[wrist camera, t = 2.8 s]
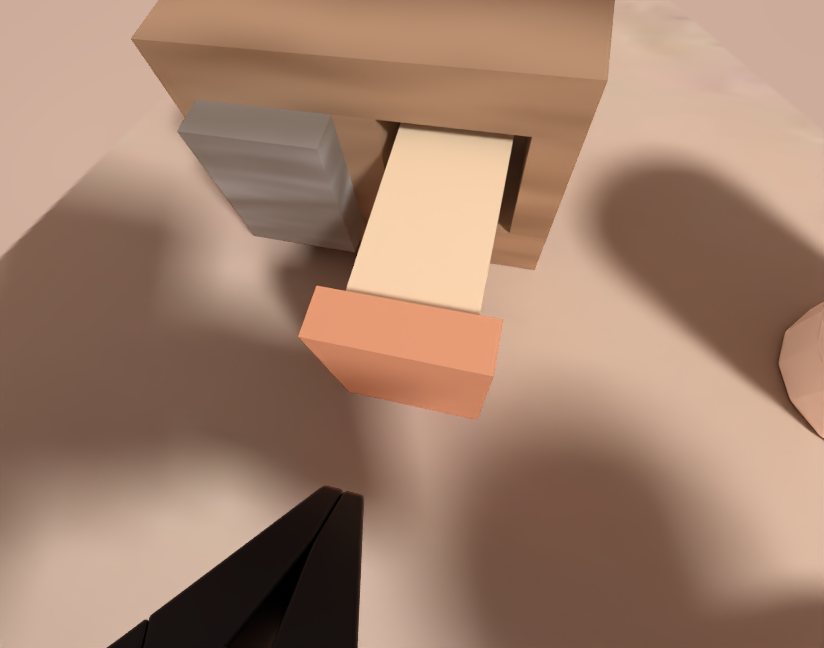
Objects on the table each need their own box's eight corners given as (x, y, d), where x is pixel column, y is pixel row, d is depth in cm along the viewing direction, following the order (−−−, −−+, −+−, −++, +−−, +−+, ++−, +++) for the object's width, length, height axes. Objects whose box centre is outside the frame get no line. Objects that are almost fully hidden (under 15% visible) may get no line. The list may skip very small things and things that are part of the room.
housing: (530, 298, 19) (603, 123, 10) (248, 249, 21) (106, 72, 12) (553, 141, 22) (622, -92, 13) (308, 114, 24) (231, -101, 16)
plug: (476, 420, 15) (493, 376, 10) (348, 391, 16) (297, 336, 11) (513, 210, 19) (542, 90, 13) (407, 194, 20) (391, 76, 14)
